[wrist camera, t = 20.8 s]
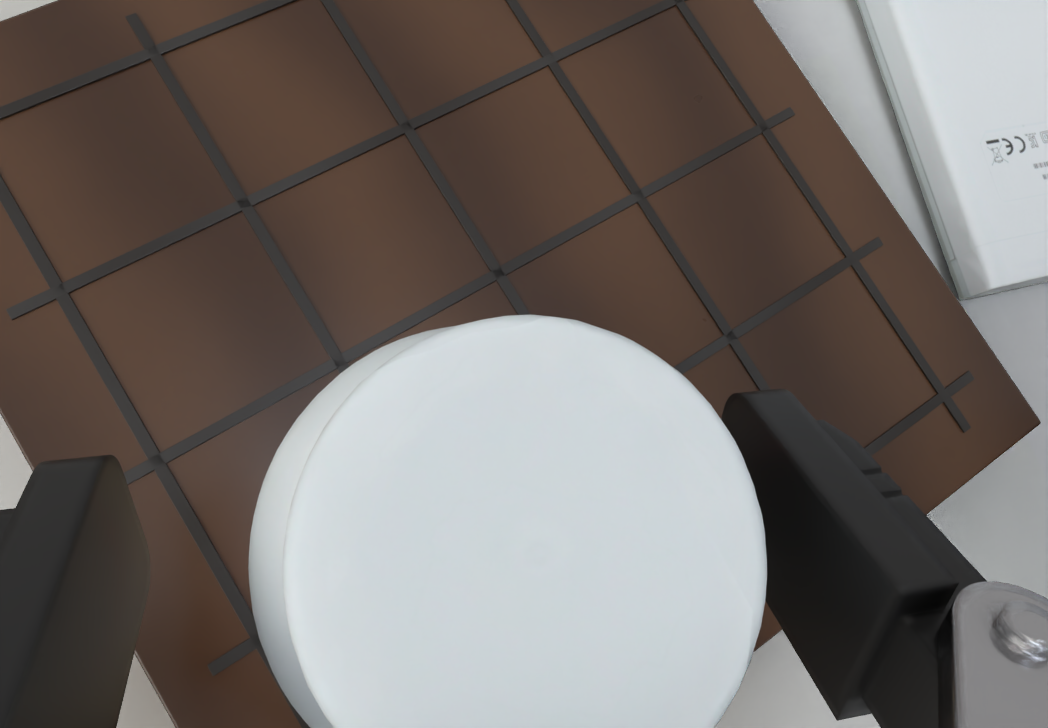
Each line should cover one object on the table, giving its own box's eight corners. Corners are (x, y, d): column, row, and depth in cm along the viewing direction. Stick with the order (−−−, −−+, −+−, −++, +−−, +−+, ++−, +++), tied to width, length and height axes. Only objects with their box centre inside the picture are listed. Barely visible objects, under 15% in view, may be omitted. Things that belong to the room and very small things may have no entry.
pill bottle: (591, 434, 16) (878, 318, 7) (545, 693, 15) (820, 993, 6) (345, 378, 15) (286, 161, 6) (275, 646, 14) (63, 896, 5)
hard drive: (1032, -100, 24) (1176, 254, 22) (817, -84, 22) (952, 303, 20) (1078, -143, 23) (1236, 233, 21) (849, -129, 21) (1000, 285, 19)
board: (330, 949, 15) (323, 999, 13) (-133, 125, 16) (-187, 85, 15) (995, 429, 20) (1046, 422, 18) (598, -158, 21) (614, -209, 20)
